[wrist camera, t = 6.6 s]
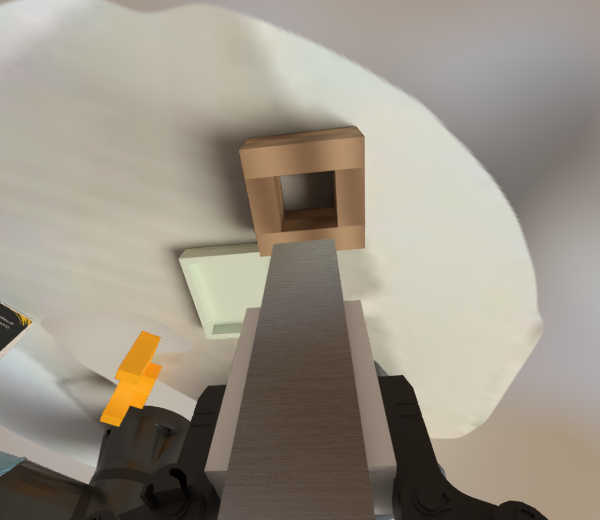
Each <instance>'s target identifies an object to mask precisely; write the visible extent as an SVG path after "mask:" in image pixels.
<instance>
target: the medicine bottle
mask: <svg viewBox="0 0 600 520" xmlns="http://www.w3.org/2000/svg"><path fill="white" fill-rule="evenodd" d="M32 323H33V320H32V319H30V318H29V317H27V316H25V315H23V314H22V313H20V312H18V311H16V310H15V309H13V308H11V307H9V306H7V305H6V304H4V303H2V302H0V359H1V358H2V357H3V356H4V355H5V354H6V353H7V352H8V351H9V350H10V349H11V348H12V347H14V345H15V344H16V343H17V342H18V340H19V339H20V338H21V337H22V335H23V334H24V333H25V332H26V330H27V329H28V328H29V327H30V325H31V324H32Z"/></svg>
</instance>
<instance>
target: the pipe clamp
mask: <svg viewBox="0 0 600 520" xmlns="http://www.w3.org/2000/svg"><path fill="white" fill-rule="evenodd" d="M160 339H161V337H159V336H156V335H153V334H150V333H148V332H145V331H142V332H141V334H140V335H139V337H138V339H137V340H136V341H135V343H134V345H133V346H132V348H131V349H130V351H129V353H128V354H127V356H126V357H125V359H124V360H123V362H122V364H121V366H120V367H119V368H118V371H117V374H116V376H115V379H118V380H120V382H119V384H118V386H117V388H116V390H115V392H114V394H113V396H112V397H111V399H110V401H109V403H108V405H107V407H106V408H105V410H104V412H103V413H102V416H101V419H100V421H101V422H104V423H108V424H111V425H115V426H118V427H119V426H120V424H121V422H122V420H123V418H124V416H125V414H126V412H127V411H128V409H129V407H130V406H133V407H137V408H140V409H142V408H143V406H144V404H145V402H146V400H147V398H148V396H149V394H150V392H151V390H152V387H153V385H154V383H155V381H156V379H157V377H158V374H159V372H160V370H161V368H162V366H159V365H156V364H153V363H150V362H151V360H152V357H153V355H154V353H155V350H156V348H157V346H158V343H159V341H160Z"/></svg>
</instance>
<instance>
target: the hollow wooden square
mask: <svg viewBox="0 0 600 520" xmlns="http://www.w3.org/2000/svg"><path fill="white" fill-rule="evenodd" d="M239 154H240V159H241V164H242V169H243V174H244V179H245V184H246V189H247V193H248V198H249V203H250V208H251V213H252V218H253V223H254V228H255V233H256V238H257V243H258V248H259V253H260V257H265V256H271V254H272V249H273V244H278V243H290V242H302V241H314V240H325V239H334V241H335V247H336V251H337V250H350V249H362V248H365V145H364V135H363V134H362V133H361V131H360V130H359V129H358V128H357V127H356V126H355V127H346V128H337V129H328V130H319V131H310V132H302V133H293V134H284V135H275V136H266V137H257V138H249V139H248V140H247V141H246V142H245V143H244V145H243V146H242V147H241V148H240V149H239ZM322 171H332V174H333V192H334V207H328V208H317V209H306V210H296V211H285V209H284V201H283V194H282V187H281V180H280V176H283V175H292V174H302V173H312V172H322Z"/></svg>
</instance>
